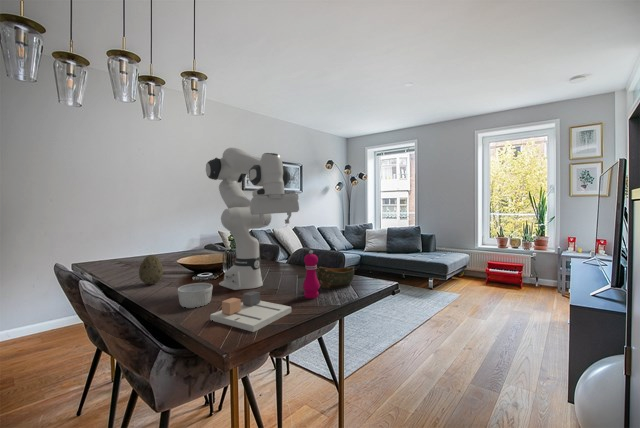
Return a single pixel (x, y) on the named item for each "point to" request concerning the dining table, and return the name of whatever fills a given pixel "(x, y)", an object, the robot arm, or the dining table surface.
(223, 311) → the block
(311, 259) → the pepper mill
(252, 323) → the fader panel
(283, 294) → the dining table surface
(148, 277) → the decorative egg
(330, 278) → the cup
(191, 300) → the ramekin
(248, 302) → the block
